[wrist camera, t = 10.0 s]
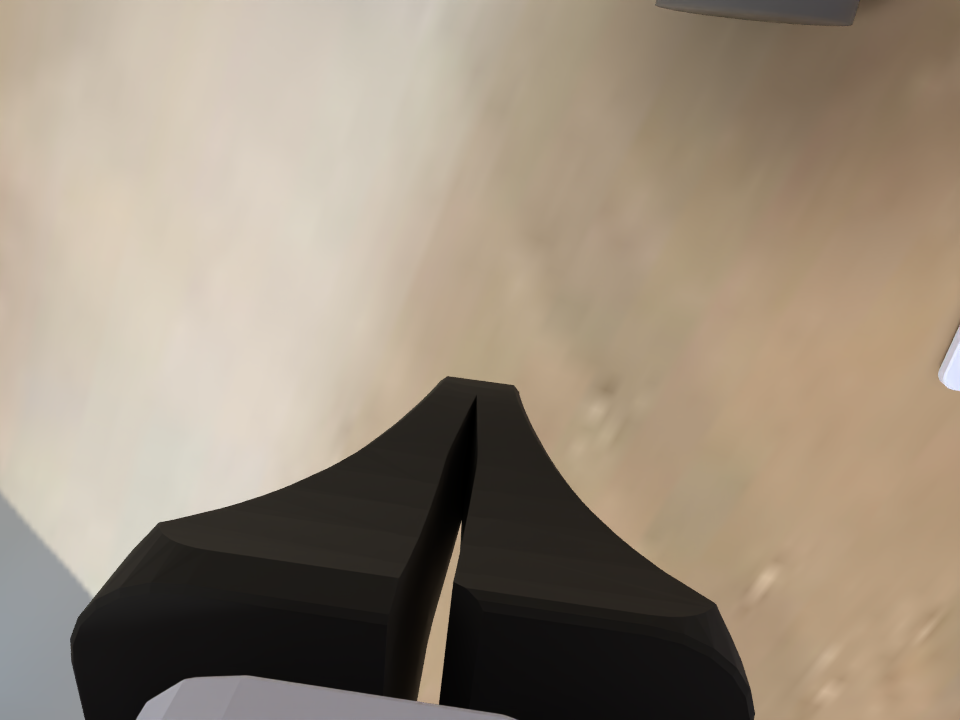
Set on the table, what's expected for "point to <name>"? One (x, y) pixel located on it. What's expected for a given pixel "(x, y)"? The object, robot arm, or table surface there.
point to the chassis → (772, 10)
